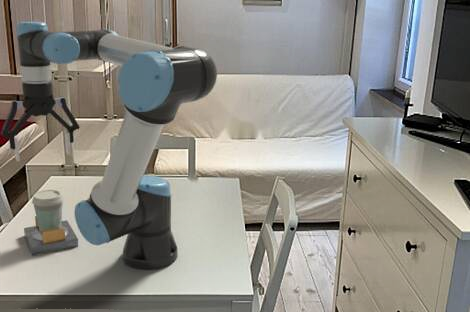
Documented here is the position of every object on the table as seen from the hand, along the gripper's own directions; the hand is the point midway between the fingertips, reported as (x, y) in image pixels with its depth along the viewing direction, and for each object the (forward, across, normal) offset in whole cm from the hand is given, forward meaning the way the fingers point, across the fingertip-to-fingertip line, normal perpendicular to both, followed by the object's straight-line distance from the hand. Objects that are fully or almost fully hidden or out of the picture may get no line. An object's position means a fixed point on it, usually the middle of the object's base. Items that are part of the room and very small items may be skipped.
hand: (43, 157), depth 145 cm
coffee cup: (+24, 0, 0) cm, 24 cm away
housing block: (+26, 0, 0) cm, 26 cm away
